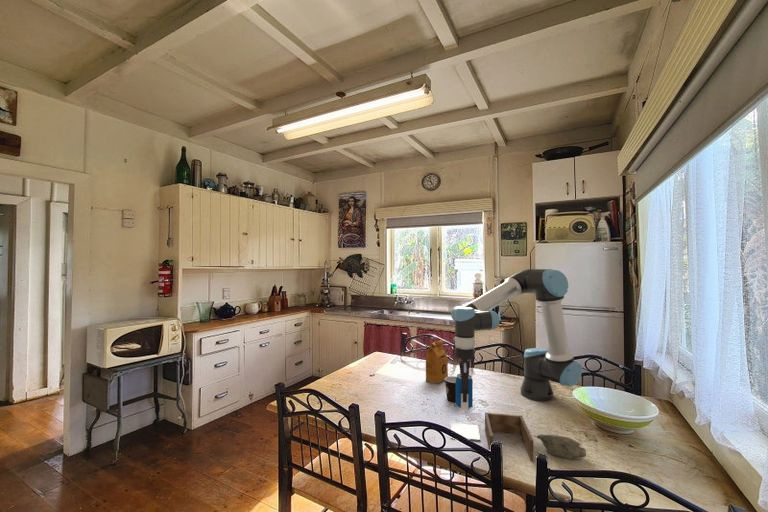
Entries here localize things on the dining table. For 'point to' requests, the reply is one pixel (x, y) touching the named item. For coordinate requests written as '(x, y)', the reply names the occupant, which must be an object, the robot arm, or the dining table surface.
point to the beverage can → (459, 388)
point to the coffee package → (436, 363)
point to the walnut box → (508, 429)
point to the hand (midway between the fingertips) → (464, 405)
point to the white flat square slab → (466, 430)
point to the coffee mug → (451, 388)
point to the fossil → (562, 446)
